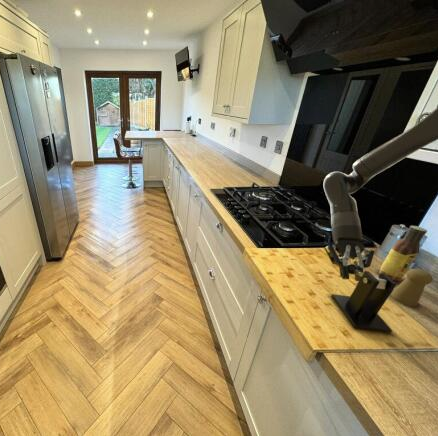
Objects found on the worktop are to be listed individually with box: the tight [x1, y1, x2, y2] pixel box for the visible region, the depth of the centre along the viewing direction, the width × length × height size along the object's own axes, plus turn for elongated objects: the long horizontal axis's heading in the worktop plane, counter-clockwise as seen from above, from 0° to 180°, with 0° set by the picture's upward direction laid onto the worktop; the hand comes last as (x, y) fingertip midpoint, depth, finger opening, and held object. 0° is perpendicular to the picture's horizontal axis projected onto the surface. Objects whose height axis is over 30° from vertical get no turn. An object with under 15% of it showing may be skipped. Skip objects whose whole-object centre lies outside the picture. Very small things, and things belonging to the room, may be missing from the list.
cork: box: [390, 268, 434, 307], centre depth 73 cm, size 6×6×11 cm
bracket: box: [330, 270, 398, 335], centre depth 66 cm, size 12×9×14 cm
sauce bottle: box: [378, 225, 428, 282], centre depth 82 cm, size 7×6×20 cm
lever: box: [346, 263, 387, 289], centre depth 69 cm, size 13×3×3 cm, turn 171°
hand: (352, 279), depth 73 cm, fingers closed on lever, 3 cm apart
